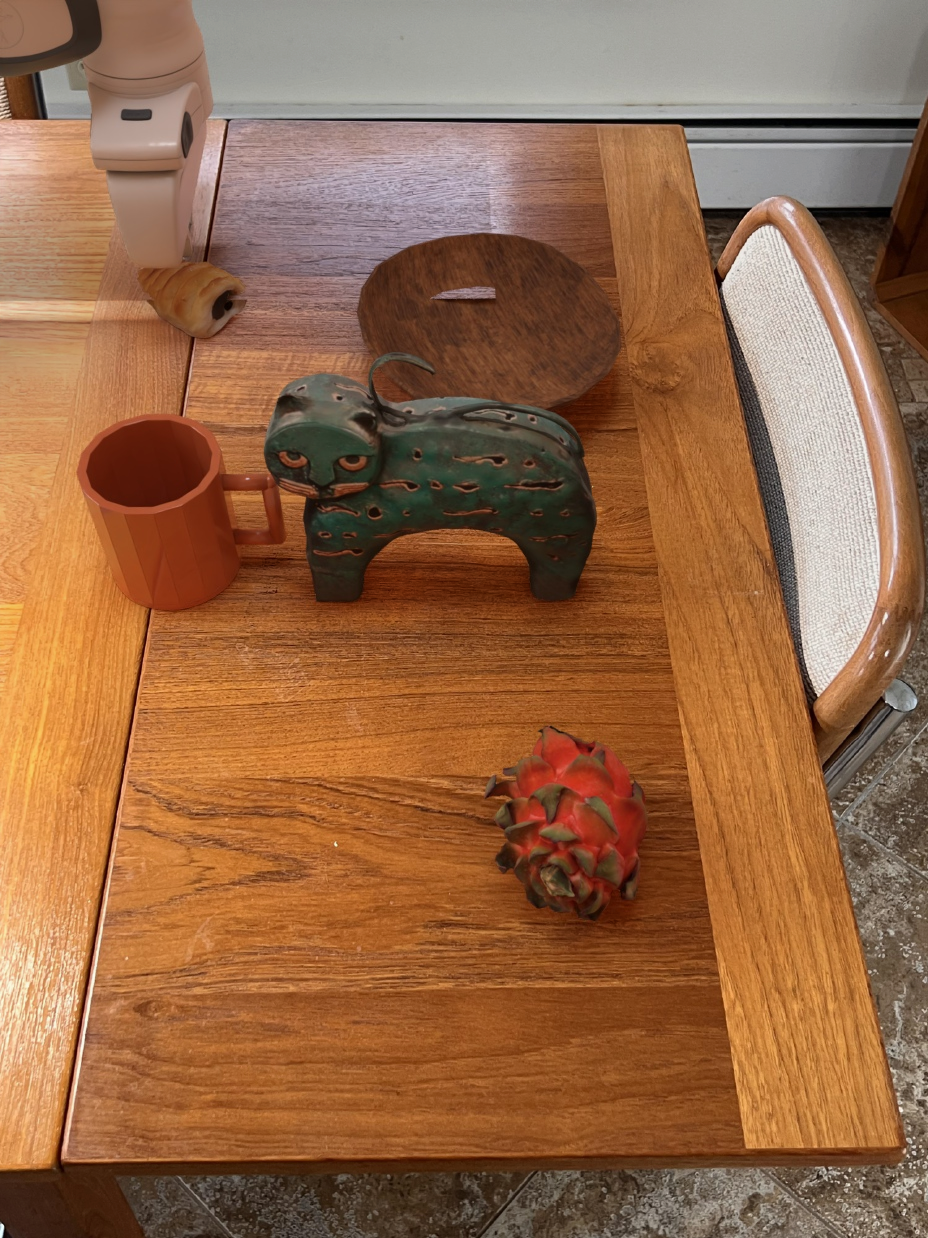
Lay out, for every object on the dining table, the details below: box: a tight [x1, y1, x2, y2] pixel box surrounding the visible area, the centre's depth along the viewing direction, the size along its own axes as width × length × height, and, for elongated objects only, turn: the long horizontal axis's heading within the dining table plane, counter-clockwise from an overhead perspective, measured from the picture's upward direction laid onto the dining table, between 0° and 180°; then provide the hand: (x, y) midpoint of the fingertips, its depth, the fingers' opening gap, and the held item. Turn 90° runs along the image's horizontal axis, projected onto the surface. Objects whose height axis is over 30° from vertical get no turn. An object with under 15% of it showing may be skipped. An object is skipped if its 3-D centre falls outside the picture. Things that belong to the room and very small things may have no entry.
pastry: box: [136, 258, 248, 339], centre depth 95 cm, size 9×7×4 cm
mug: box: [76, 413, 288, 611], centre depth 76 cm, size 12×9×10 cm
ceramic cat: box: [263, 352, 598, 603], centre depth 71 cm, size 20×6×20 cm, turn 89°
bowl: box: [356, 232, 622, 413], centre depth 90 cm, size 20×22×5 cm
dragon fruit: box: [483, 725, 649, 922], centre depth 64 cm, size 8×8×12 cm
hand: (184, 247), depth 97 cm, fingers closed
